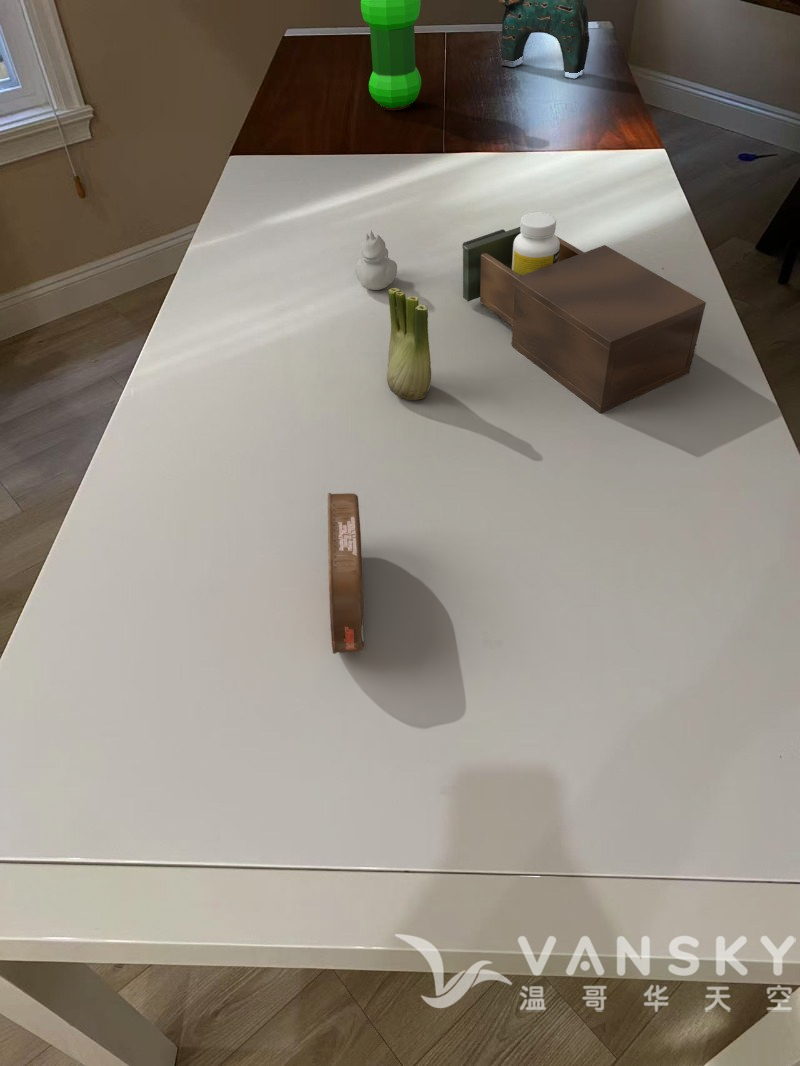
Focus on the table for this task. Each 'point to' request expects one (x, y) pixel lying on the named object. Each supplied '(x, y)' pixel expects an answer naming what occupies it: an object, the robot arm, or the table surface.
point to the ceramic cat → (547, 28)
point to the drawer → (496, 270)
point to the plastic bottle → (393, 51)
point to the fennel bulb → (408, 347)
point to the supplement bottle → (535, 243)
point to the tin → (345, 573)
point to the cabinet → (605, 326)
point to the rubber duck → (375, 264)
